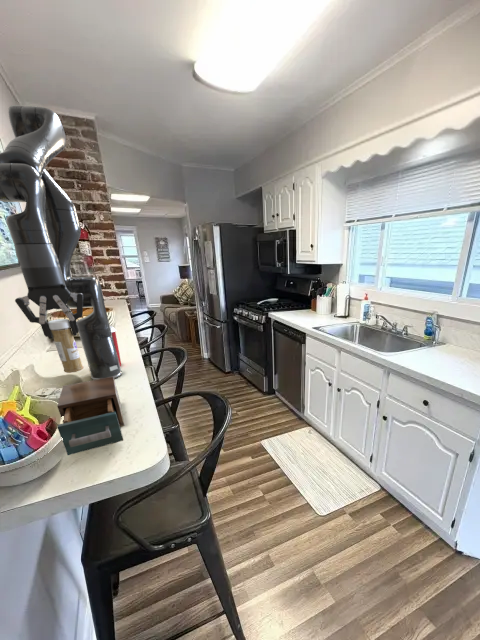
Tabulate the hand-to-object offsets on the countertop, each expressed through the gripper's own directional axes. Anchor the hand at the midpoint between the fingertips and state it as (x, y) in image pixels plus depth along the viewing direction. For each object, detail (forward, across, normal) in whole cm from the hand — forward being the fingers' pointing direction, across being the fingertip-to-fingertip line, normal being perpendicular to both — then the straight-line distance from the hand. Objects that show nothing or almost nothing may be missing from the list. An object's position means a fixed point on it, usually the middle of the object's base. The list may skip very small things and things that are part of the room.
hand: (63, 336), depth 79 cm
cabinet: (+20, -3, +11) cm, 23 cm away
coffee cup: (+21, -8, -35) cm, 41 cm away
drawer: (+19, -3, +23) cm, 30 cm away
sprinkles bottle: (+10, 0, 0) cm, 10 cm away
